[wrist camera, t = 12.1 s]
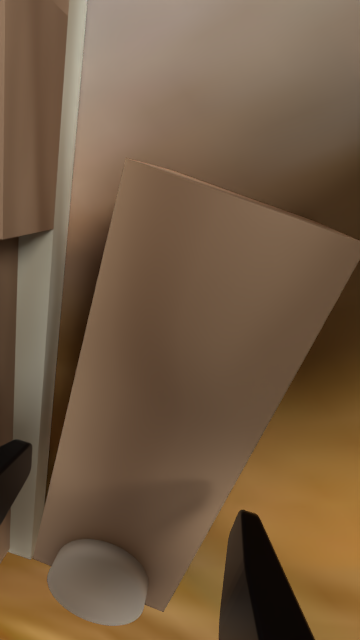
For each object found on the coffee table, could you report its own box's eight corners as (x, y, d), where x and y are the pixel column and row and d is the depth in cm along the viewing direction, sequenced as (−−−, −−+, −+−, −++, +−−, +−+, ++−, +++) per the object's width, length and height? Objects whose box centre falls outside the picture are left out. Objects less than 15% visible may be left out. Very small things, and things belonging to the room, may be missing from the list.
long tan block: (315, 221, 11) (380, 249, 6) (179, 506, 16) (151, 647, 11) (173, 170, 11) (114, 154, 6) (86, 469, 16) (18, 591, 11)
